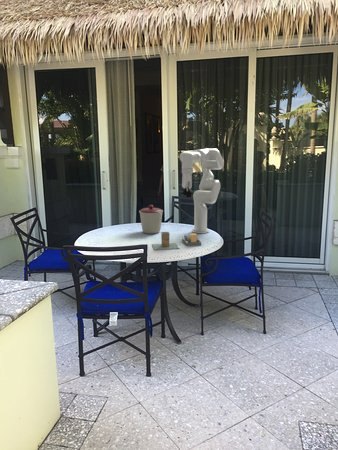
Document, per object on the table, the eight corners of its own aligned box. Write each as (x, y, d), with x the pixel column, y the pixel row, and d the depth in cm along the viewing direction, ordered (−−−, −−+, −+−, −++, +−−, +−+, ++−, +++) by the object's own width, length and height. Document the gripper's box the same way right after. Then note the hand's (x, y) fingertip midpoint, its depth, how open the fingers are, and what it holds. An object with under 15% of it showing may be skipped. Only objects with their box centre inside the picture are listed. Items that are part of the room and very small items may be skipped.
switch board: (182, 240, 249) (182, 235, 248) (196, 239, 251) (196, 234, 250) (186, 245, 236) (186, 240, 235) (201, 245, 237) (201, 240, 237)
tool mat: (152, 245, 238) (152, 244, 238) (175, 243, 240) (175, 243, 240) (154, 250, 226) (154, 249, 226) (179, 248, 229) (179, 248, 229)
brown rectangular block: (161, 245, 235) (161, 231, 233) (168, 245, 236) (168, 231, 234) (162, 247, 231) (162, 233, 229) (169, 246, 231) (169, 233, 230)
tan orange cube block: (189, 240, 240) (189, 233, 239) (195, 240, 241) (195, 233, 240) (190, 242, 236) (190, 235, 235) (196, 242, 237) (196, 234, 236)
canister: (164, 229, 281) (164, 203, 277) (161, 235, 264) (161, 207, 259) (141, 229, 283) (141, 202, 278) (137, 234, 265) (136, 206, 261)
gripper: (179, 170, 250) (179, 194, 254) (184, 171, 234) (184, 198, 237) (189, 170, 251) (189, 194, 255) (195, 171, 235) (195, 197, 238)
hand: (187, 196), depth 246 cm, fingers open, 9 cm apart
